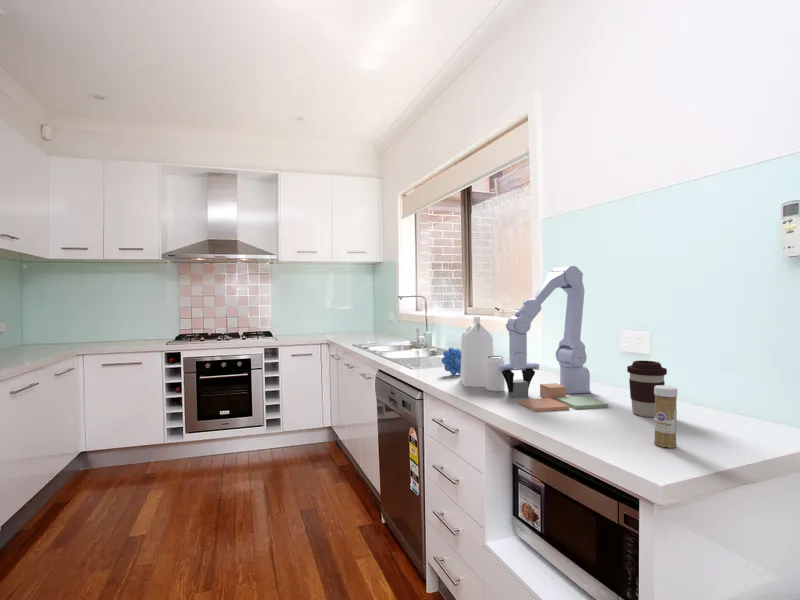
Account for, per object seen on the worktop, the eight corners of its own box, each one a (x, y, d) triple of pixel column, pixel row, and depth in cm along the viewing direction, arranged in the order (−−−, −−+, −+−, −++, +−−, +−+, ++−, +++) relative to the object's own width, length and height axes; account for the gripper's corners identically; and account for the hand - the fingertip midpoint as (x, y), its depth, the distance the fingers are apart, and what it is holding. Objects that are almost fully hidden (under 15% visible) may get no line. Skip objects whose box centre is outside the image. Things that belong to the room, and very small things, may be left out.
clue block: (556, 394, 155) (556, 383, 155) (565, 398, 149) (565, 386, 149) (540, 395, 154) (539, 384, 154) (549, 399, 148) (549, 387, 148)
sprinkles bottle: (652, 446, 103) (652, 387, 103) (656, 440, 106) (656, 383, 106) (675, 450, 100) (675, 389, 100) (678, 445, 104) (679, 386, 103)
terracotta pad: (550, 401, 146) (550, 397, 146) (569, 409, 135) (569, 406, 135) (518, 402, 144) (518, 399, 144) (535, 411, 133) (535, 408, 133)
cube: (521, 393, 157) (521, 379, 157) (528, 396, 152) (528, 382, 152) (508, 394, 156) (508, 379, 156) (514, 397, 151) (514, 382, 151)
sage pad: (586, 398, 149) (586, 395, 149) (608, 407, 138) (608, 403, 138) (555, 400, 147) (555, 397, 147) (575, 409, 136) (575, 405, 136)
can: (504, 392, 160) (504, 358, 159) (486, 391, 161) (485, 357, 161) (504, 388, 166) (504, 355, 166) (486, 387, 167) (486, 355, 167)
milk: (495, 386, 170) (494, 317, 169) (464, 386, 170) (463, 317, 169) (489, 380, 182) (488, 315, 181) (460, 380, 182) (460, 315, 181)
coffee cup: (670, 414, 130) (670, 361, 130) (661, 421, 123) (661, 365, 122) (633, 408, 137) (633, 358, 136) (622, 414, 129) (622, 362, 129)
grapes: (446, 377, 187) (446, 348, 187) (439, 375, 194) (439, 347, 193) (471, 375, 192) (471, 347, 192) (462, 373, 198) (462, 345, 198)
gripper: (532, 349, 159) (532, 388, 160) (493, 350, 157) (493, 389, 157) (542, 352, 152) (542, 392, 153) (501, 353, 150) (501, 394, 150)
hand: (518, 391), depth 154 cm, fingers closed on cube, 5 cm apart
